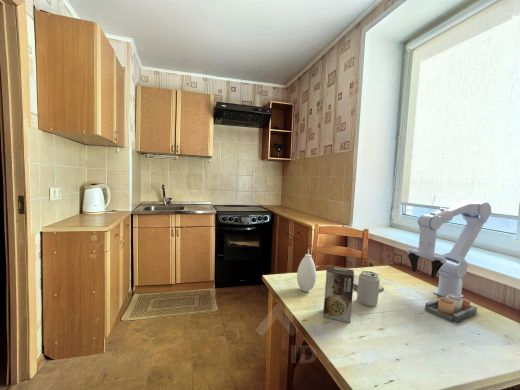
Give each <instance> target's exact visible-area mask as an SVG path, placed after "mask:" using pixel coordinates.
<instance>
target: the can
mask: <svg viewBox="0 0 520 390" xmlns="http://www.w3.org/2000/svg"><path fill="white" fill-rule="evenodd" d="M358 276H359V282H358V290H357V291H356V292H357V293H356V300H357V301H358V303H359V304H360V305H362V306H365V307H371V308H372V307H375V306H376V305H378V301H379V293H380V292H379V285H380V282H381V281H380V280H381V278H379V274H378V273H377V272H374V271H371V270H361V271H360V273H359V274H358Z"/></svg>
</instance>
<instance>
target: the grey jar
mask: <svg viewBox="0 0 520 390" xmlns="http://www.w3.org/2000/svg"><path fill="white" fill-rule="evenodd" d="M446 298H450V299H452V300H453V301H454V302H455V310H454V314H456V313H459V312H461V311H462V302H463V300H462V299H461V298H462V297H459V296H457V295H453V294H448V295H447V296H446Z"/></svg>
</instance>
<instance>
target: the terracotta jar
mask: <svg viewBox="0 0 520 390" xmlns="http://www.w3.org/2000/svg"><path fill="white" fill-rule="evenodd" d="M436 310H438V311H440V312H443V313H445V314H447V315H450V316H452V317H453V315H454V314H455V313H454V310H455V302H454V301H453V300H452V299H450V298H446V297H443V296H440V297H439V301H438V307H437V308H436Z"/></svg>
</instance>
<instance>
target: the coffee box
mask: <svg viewBox="0 0 520 390" xmlns="http://www.w3.org/2000/svg"><path fill="white" fill-rule="evenodd" d="M325 273H326V274H325V286H324V287H325V289H324V300H323V313H322V318H327V319H331V320H335V321H336V320H337V321H341V322H345V323H350V324H351V320H352V319H351V318H352V305H353V297H354V296H353V293H354V288H353V283H354V274H355V271H354V269H349V268H343V267H337V266H330V265H328V266H327V267H326V272H325Z"/></svg>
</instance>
